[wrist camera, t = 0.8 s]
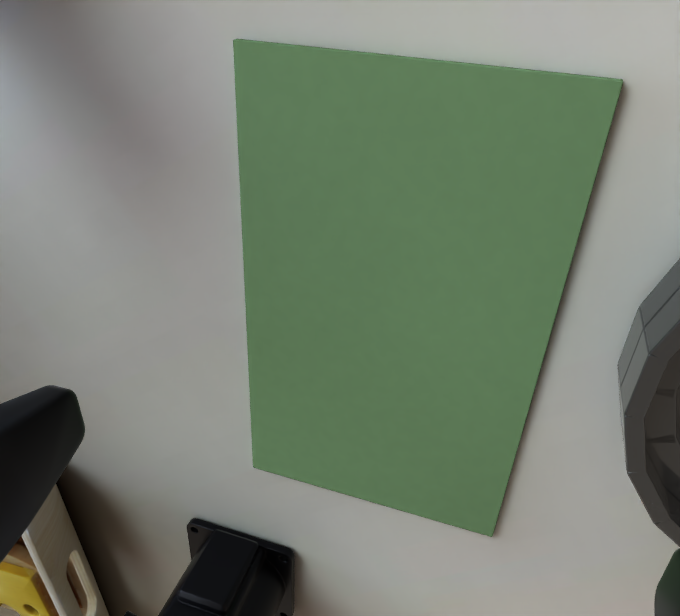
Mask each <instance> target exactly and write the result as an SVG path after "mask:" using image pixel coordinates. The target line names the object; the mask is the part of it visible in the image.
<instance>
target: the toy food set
mask: <svg viewBox="0 0 680 616" xmlns="http://www.w3.org/2000/svg"><path fill="white" fill-rule="evenodd" d="M0 606H2V607H5V608H8V609H11V610H14V611H17V612H18V613H19V614H20V615H21V616H109V614H108V611H107V609H106V606H105V604H104V601H103V599H102V596H101V593H100V591H99V588H98V586H97V583H96V581H95V578H94V576H93V573H92V571H91V568H90V566H89V563H88V561H87V558H86V556H85V554H84V551H83V549H82V546H81V544H80V541H79V539H78V537H77V534H76V532H75V529H74V527H73V524H72V522H71V520H70V517H69V515H68V512H67V510H66V507H65V505H64V502H63V500H62V497H61V495H60V492H59V490H58V487H57V485H56V484H55V486H54V487H53V489H52V490H51V492H50V494H49V495H48V497H47V498H46V500H45V502H44V503H43V505H42V507H41V508H40V510H39V511H38V513H37V514H36V516H35V517H34V519H33V520H32V522H31V523H30V525H29V526H28V527H27V529H26V530H25V532H24V533H23V534H22V536H21V537H20V538H19V540H18V541H17V542H16V544H15V545H14V546H13V548H12V549H11V550H10V552H9V553H8V554H7V556H6V557H5V558H4V560H3V561H2V562H1V564H0Z"/></svg>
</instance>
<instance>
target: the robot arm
mask: <svg viewBox="0 0 680 616" xmlns="http://www.w3.org/2000/svg"><path fill="white" fill-rule="evenodd" d="M84 433H85V425H84V421H83V418H82V414H81V410H80V407H79V403H78V399H77V396H76V394H75V393H74V392H73V391H72V390H70V389H66V388H62V387H58V386H54V385H49V386H45V387H42V388H40V389H37V390H35V391H32V392H29V393H27V394H24V395H22V396H19V397H17V398H14V399H12V400H9V401H7V402H4V403H2V404H0V564H1V562H2V561H3V560H4V558H5V557H6V556H7V554H8V553H9V552H10V550H11V549H12V548H13V546H14V545H15V544H16V542H17V541H18V540H19V538H20V537H21V536H22V534H23V533H24V532H25V530H26V529H27V527H28V526H29V525H30V523H31V522H32V520H33V519H34V517H35V516H36V514H37V513H38V511H39V510H40V508H41V507H42V505H43V503H44V502H45V500H46V498H47V497H48V495H49V494H50V492H51V490H52V489H53V487H54V486H55V484H56V482H57V481H58V479H59V477H60V476H61V474H62V473H63V471H64V469H65V468H66V466H67V465H68V463H69V461H70V460H71V458H72V457H73V455H74V453H75V452H76V450H77V448H78V447H79V445H80V444H81V442H82V440H83V437H84ZM187 532H188V539H189V546H190V553H191V560H192V561H191V562H190V564H189V566H188V567H187V569H186V571H185V572H184V574H183V575H182V577H181V579H180V580H179V582H178V584H177V585H176V587H175V589H174V590H173V592H172V594H171V595H170V597H169V599H168V600H167V602H166V603H165V605H164V607H163V608H162V610H161V612H160V613H159V615H158V616H293V613H294V553H293V552H292V551H291V550H290V549H289V548H286V547H283V546H280V545H277V544H274V543H271V542H268V541H265V540H262V539H259V538H255V537H252V536H249V535H246V534H243V533H240V532H237V531H234V530H231V529H228V528H224V527H221V526H218V525H215V524H212V523H209V522H206V521H203V520H200V519H196V518H193V519H191V520H190V522H189V523H188V525H187ZM654 608H655V616H680V548H679V549H678V550H676V551H675V552H674V554H673V556H672V558H671V560H670V562H669V564H668V566H667V568H666V570H665V572H664V574H663V576H662V578H661V579H660V581H659V583H658V586H657V589H656V594H655V605H654ZM124 616H137V615H135V614H134V613H132V612H130V611H127V612H126V613H125V615H124Z"/></svg>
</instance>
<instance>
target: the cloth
mask: <svg viewBox="0 0 680 616" xmlns="http://www.w3.org/2000/svg"><path fill="white" fill-rule="evenodd" d="M233 48H234V69H235V90H236V112H237V133H238V154H239V175H240V197H241V218H242V239H243V260H244V282H245V303H246V324H247V346H248V367H249V388H250V409H251V431H252V452H253V467H254V468H257V469H260V470H264V471H267V472H271V473H274V474H278V475H281V476H284V477H288V478H291V479H295V480H298V481H301V482H305V483H308V484H312V485H315V486H319V487H322V488H325V489H329V490H332V491H336V492H339V493H343V494H346V495H349V496H353V497H356V498H360V499H363V500H367V501H370V502H373V503H377V504H380V505H384V506H387V507H391V508H394V509H397V510H401V511H404V512H408V513H411V514H415V515H418V516H421V517H425V518H428V519H432V520H435V521H439V522H442V523H445V524H449V525H452V526H456V527H459V528H463V529H466V530H469V531H473V532H476V533H480V534H483V535H487V536H490V537H492V536H493V533H494V529H495V526H496V522H497V519H498V515H499V512H500V508H501V505H502V501H503V498H504V494H505V491H506V488H507V484H508V481H509V477H510V474H511V470H512V467H513V463H514V460H515V456H516V453H517V449H518V446H519V442H520V439H521V435H522V432H523V429H524V425H525V422H526V418H527V415H528V411H529V408H530V404H531V401H532V397H533V394H534V390H535V387H536V383H537V380H538V376H539V373H540V370H541V366H542V363H543V359H544V356H545V352H546V349H547V345H548V342H549V338H550V335H551V331H552V328H553V324H554V321H555V317H556V314H557V310H558V307H559V304H560V300H561V297H562V293H563V290H564V286H565V283H566V279H567V276H568V272H569V269H570V265H571V262H572V258H573V255H574V251H575V248H576V245H577V241H578V238H579V234H580V231H581V227H582V224H583V220H584V217H585V213H586V210H587V206H588V203H589V199H590V196H591V192H592V189H593V186H594V182H595V179H596V175H597V172H598V168H599V165H600V161H601V158H602V154H603V151H604V147H605V144H606V140H607V137H608V133H609V130H610V127H611V123H612V120H613V116H614V113H615V109H616V106H617V102H618V99H619V95H620V92H621V88H622V85H623V80H622V79H614V78H605V77H595V76H586V75H576V74H567V73H557V72H548V71H538V70H529V69H519V68H510V67H500V66H491V65H481V64H472V63H462V62H453V61H443V60H434V59H424V58H415V57H405V56H396V55H386V54H377V53H367V52H358V51H348V50H339V49H329V48H320V47H310V46H301V45H291V44H282V43H272V42H263V41H253V40H244V39H235V40H233Z"/></svg>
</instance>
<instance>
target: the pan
mask: <svg viewBox="0 0 680 616" xmlns="http://www.w3.org/2000/svg"><path fill="white" fill-rule="evenodd" d="M618 383H619V400H620V417H621V426H622V435H623V444H624V453H625V462H626V470H627V474H628V476H629V478H630V480H631V482H632V483H633V485H634V487H635V489H636V491H637V493H638V495H639V497H640V499H641V501H642V502H643V504H644V506H645V508H646V510H647V512H648V514H649V516H650V518H651V519H652V521H653V523H654V524H655V525H656V526H657V527H658V528H659V529H661V530H662V531H663V532H664V533H665V534H666V535H667V536H668V537H669V538H670V539H672V540H673V541H674V542H675V543H676V544H677V545H678V546H679V547H680V259H679V260H678V261H677V262H676V264H675V265H674V266H673V267H672V268H671V269H670V271H669V272H668V273H667V274H666V275H665V277H664V278H663V279H662V280H661V281H660V282H659V284H658V285H657V286H656V287H655V288H654V289H653V291H652V292H651V293H650V294H649V295H648V296H647V298H646V299H645V300H644V301H643V302H642V304H641V305H640V307H639V308H638V310H637V313H636V316H635V318H634V321H633V324H632V326H631V329H630V332H629V334H628V337H627V340H626V342H625V345H624V348H623V351H622V353H621V356H620V359H619V361H618Z"/></svg>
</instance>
